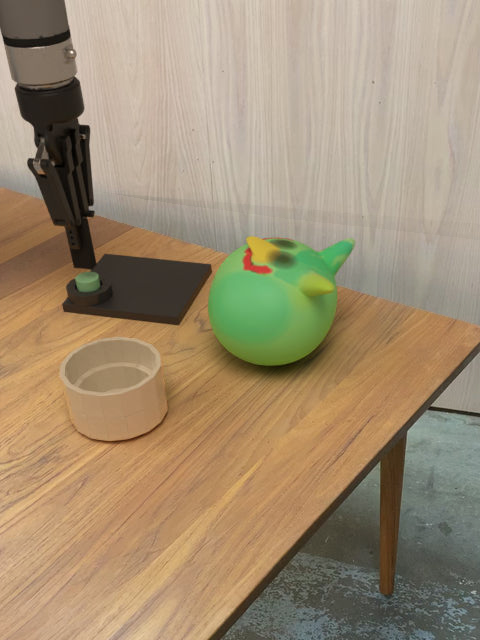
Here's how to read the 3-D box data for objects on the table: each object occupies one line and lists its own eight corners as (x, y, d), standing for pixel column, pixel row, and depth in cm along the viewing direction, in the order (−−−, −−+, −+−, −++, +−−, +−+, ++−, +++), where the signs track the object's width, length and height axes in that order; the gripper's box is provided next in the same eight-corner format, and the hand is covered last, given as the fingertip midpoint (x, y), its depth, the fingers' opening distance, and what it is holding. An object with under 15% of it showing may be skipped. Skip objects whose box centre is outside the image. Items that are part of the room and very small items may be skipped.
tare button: (73, 291, 108) (71, 281, 107) (83, 280, 110) (81, 270, 109) (94, 294, 107) (92, 283, 106) (104, 282, 109) (102, 272, 108)
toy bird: (231, 307, 108) (224, 205, 98) (352, 317, 106) (357, 213, 96) (197, 383, 96) (185, 275, 86) (333, 397, 93) (337, 287, 83)
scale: (63, 312, 109) (58, 293, 107) (105, 261, 119) (102, 243, 117) (178, 326, 105) (176, 306, 103) (212, 272, 116) (210, 253, 114)
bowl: (55, 437, 89) (42, 387, 84) (95, 380, 97) (85, 331, 92) (147, 451, 87) (139, 401, 82) (180, 391, 94) (174, 342, 90)
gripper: (50, 99, 85) (91, 292, 101) (98, 64, 94) (128, 246, 110) (-11, 96, 86) (38, 287, 102) (42, 62, 96) (80, 242, 112)
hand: (85, 266), depth 106 cm, fingers closed
